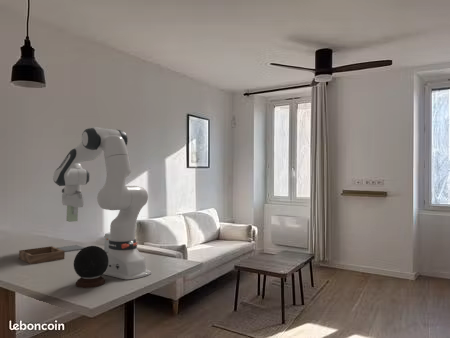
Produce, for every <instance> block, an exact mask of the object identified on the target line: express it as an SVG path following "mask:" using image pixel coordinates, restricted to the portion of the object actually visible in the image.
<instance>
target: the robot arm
mask: <svg viewBox="0 0 450 338" xmlns="http://www.w3.org/2000/svg"><path fill="white" fill-rule="evenodd" d="M128 139H129V138H128V136H127V133H126V132H125V131H123V130H121V129H111V128H105V127H99V126H92V127H88V128H85V129H84V130H83V132H82V134H81V142H80V144H78V145H77V146H76V147H75V148H73V149H71V150H70V151H69V152H68V153H67V155H66V156H65V157H64V159H63V161H62V162H61V163H60V166H58V168H56V169H55V171H54V173H53V176H52V177H53V178H52V179H53V182H54V183H55V184H56V185H57V186H59V187H64V188H61V203H62V205H63V206H66V207H67V206H72V207H73V209H74V210H73V214H74V215H76V214H77V210H78V211H79V208H83V207H84V196H83V193H82V186H85V185H87V184H88V183H89V182H90V172H89V171H88V170H87V169H85V168H83V167H82V163H83V162H91V161H94V160H96V159H97V158H99V157H100V156H101V154H102V152H103V157H104V158H103V159H104V164H105V172H106V179H105V183H104V184H103V187H101V189H99V191H98V193H97V197H96V199H97V204H98V206H99V207H100V208H101V209H102V210H107V211H119V212H118V214H117V216H116V217H115V218H114V219H112V221H111V222H110V228H109V232H110V240H109V251H108V252H106V253H107V255H108V261H109V262H108V267H107V269H106V271H105V272H104V273H103V274H102V275H104V276H105V275H106V276H108V277H113V278H117V279H122V280H133V279H139V278H143V277H146V276H149V275H151V274H152V271H151V270H149V269H148V268H147V265H146V264H147V263H146V257H144V256H143V255H142V253H141V252H140V251H139V250H138V242H137V240H136V226H137V225H136V224H137V220H138V217H139V215H140V212H141V210H142V208H143V207H144V206H145V205H146V204H147V203H148V199H149V194H148V191H147V189H145V188H144V187H142V186H137V185H126V178H128V177H129V176H130V175H131V173H132V167H131V166H132V165H131V162H130V157H129V150H128V147H127V146H128Z"/></svg>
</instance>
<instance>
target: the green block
mask: <svg viewBox="0 0 450 338" xmlns="http://www.w3.org/2000/svg"><path fill="white" fill-rule="evenodd" d="M73 210H74V209H73V207H72V206H66V218H65V219H66V222H70V223H73V222H78V219H79V218H78V217H79V214H78V213H79V209H78V210H77V214H76V215H74V214H73Z"/></svg>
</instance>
